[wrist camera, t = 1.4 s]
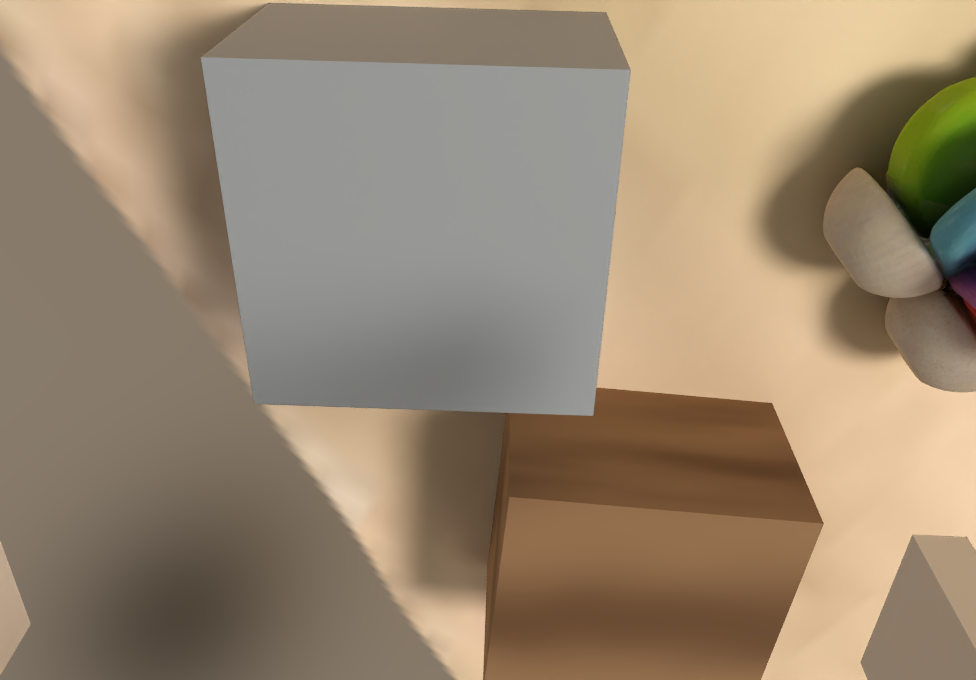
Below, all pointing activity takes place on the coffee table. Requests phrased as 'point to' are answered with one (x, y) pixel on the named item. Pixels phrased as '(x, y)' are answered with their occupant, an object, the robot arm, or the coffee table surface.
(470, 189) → the gray brick
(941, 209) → the rainbow petal toy
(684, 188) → the coffee table surface
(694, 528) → the walnut brick
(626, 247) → the coffee table surface
